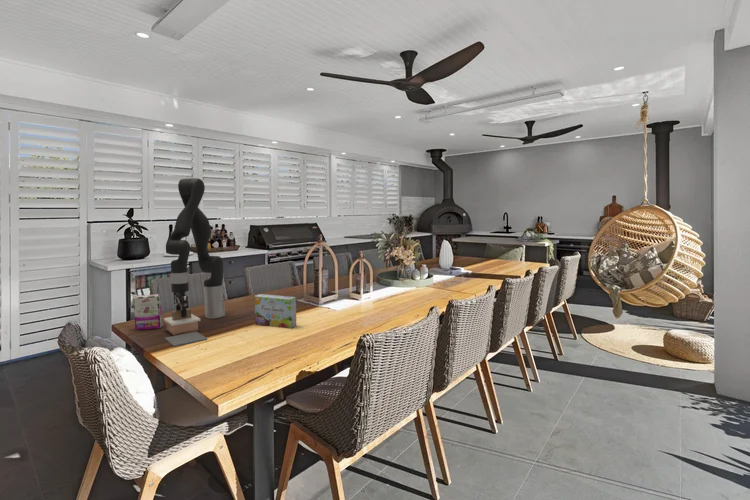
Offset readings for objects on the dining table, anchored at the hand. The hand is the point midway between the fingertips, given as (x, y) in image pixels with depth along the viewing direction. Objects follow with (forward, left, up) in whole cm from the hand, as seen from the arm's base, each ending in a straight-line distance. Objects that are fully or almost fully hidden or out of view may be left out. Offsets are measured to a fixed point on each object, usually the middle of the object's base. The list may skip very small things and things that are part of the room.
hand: (181, 315), depth 198 cm
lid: (0, 0, -3) cm, 3 cm away
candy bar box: (+11, -15, -8) cm, 20 cm away
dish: (0, 0, -8) cm, 8 cm away
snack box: (-38, +22, -8) cm, 45 cm away
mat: (+3, +15, -8) cm, 17 cm away
